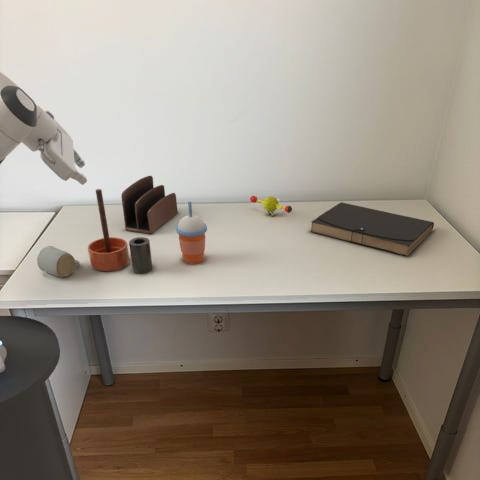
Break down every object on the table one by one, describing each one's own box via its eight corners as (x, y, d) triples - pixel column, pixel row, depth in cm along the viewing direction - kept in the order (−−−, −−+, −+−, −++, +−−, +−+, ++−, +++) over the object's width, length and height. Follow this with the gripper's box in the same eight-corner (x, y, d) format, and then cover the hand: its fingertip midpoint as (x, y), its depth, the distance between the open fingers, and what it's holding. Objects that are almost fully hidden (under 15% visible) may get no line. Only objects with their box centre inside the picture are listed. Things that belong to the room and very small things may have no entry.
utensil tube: (145, 275, 146) (141, 246, 141) (129, 271, 148) (125, 243, 144) (156, 267, 151) (153, 239, 146) (140, 263, 153) (137, 235, 148)
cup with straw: (180, 267, 150) (175, 209, 140) (176, 254, 158) (172, 197, 148) (210, 264, 152) (208, 206, 142) (206, 251, 159) (203, 195, 149)
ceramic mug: (60, 282, 144) (55, 257, 139) (39, 275, 147) (33, 251, 143) (87, 267, 151) (82, 243, 147) (66, 261, 155) (61, 237, 151)
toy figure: (295, 218, 180) (296, 200, 176) (286, 223, 177) (287, 205, 173) (256, 207, 190) (256, 189, 186) (246, 211, 186) (246, 193, 183)
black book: (310, 220, 168) (343, 200, 185) (309, 232, 170) (341, 211, 187) (409, 244, 152) (435, 219, 168) (406, 257, 154) (432, 231, 171)
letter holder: (125, 230, 173) (119, 190, 165) (154, 210, 189) (150, 172, 181) (151, 234, 170) (146, 193, 162) (178, 213, 186) (175, 174, 178)
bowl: (113, 275, 147) (110, 256, 143) (83, 267, 151) (79, 249, 148) (137, 259, 155) (134, 241, 152) (107, 252, 159) (104, 234, 156)
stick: (111, 263, 152) (99, 191, 140) (106, 262, 152) (94, 190, 140) (114, 261, 153) (102, 189, 141) (109, 260, 153) (97, 188, 141)
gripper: (48, 140, 111) (95, 184, 120) (48, 108, 126) (90, 148, 135) (28, 159, 113) (76, 201, 122) (30, 125, 127) (73, 164, 137)
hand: (84, 173), depth 129 cm, fingers open, 8 cm apart
